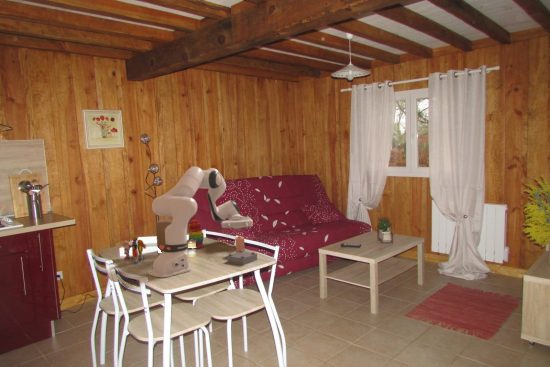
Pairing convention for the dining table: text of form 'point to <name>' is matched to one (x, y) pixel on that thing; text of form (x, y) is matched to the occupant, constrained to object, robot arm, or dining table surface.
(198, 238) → the stacking bear
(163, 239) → the block
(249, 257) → the charcoal base brick
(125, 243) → the doll family
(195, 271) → the dining table surface
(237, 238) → the terracotta brick
